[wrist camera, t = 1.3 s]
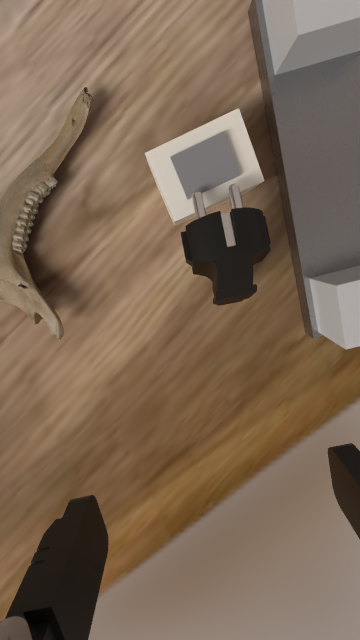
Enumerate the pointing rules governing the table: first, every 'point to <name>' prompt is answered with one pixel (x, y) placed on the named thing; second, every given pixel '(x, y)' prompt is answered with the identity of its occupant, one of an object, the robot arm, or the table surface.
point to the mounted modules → (296, 52)
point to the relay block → (205, 165)
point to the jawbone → (20, 208)
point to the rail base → (314, 159)
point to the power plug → (226, 246)
